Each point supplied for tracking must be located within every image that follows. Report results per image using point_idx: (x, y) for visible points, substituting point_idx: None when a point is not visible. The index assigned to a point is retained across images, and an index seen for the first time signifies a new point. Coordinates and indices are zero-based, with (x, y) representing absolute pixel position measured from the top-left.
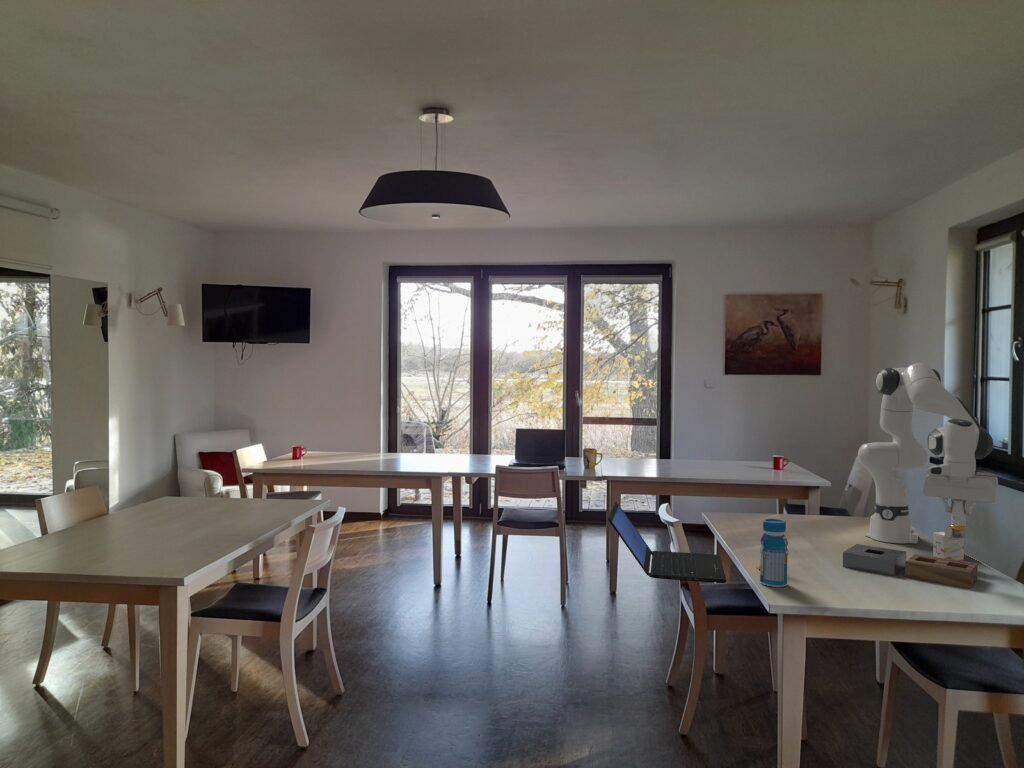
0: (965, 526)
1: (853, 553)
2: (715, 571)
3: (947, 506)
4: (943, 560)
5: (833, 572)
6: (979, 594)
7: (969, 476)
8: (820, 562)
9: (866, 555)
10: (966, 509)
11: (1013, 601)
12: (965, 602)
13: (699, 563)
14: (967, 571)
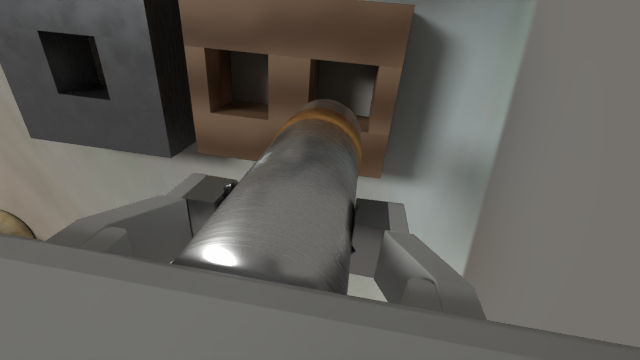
0: (358, 174)
1: (55, 136)
2: None
3: None
4: (288, 45)
5: (93, 190)
6: (399, 199)
7: None
8: (16, 112)
9: (90, 138)
10: (358, 271)
11: (473, 217)
12: None
13: None
14: (372, 170)
